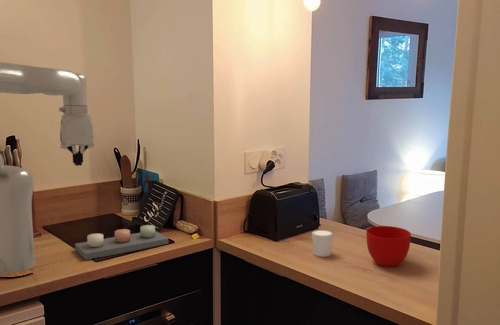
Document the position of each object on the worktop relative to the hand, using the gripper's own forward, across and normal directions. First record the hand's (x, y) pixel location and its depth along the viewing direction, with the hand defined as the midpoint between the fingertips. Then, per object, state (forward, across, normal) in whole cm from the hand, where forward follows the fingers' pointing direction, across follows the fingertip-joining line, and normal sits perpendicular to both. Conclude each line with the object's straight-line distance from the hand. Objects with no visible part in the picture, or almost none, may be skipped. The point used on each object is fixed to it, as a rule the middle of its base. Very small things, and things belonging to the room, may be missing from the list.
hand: (78, 165), depth 155 cm
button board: (+27, +10, -13) cm, 32 cm away
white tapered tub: (+27, +61, -56) cm, 87 cm away
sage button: (+25, +19, -13) cm, 34 cm away
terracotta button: (+25, +10, -13) cm, 30 cm away
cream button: (+25, +1, -13) cm, 28 cm away
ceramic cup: (+27, +73, -73) cm, 107 cm away
